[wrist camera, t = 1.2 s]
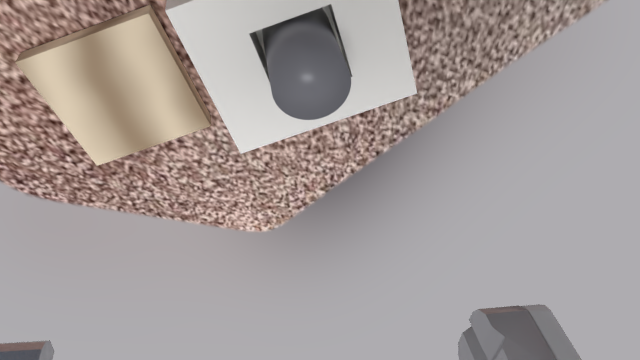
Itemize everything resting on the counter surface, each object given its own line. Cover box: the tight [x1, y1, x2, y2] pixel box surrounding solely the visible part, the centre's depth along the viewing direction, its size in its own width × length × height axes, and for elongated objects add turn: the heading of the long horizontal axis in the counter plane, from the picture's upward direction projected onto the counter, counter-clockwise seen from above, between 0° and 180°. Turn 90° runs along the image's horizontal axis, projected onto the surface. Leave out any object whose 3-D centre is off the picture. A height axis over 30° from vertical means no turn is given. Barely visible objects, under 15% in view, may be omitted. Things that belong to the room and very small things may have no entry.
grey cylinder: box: [262, 7, 351, 120], centre depth 36 cm, size 5×5×8 cm
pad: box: [15, 5, 211, 166], centre depth 40 cm, size 10×10×2 cm
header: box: [165, 0, 417, 153], centre depth 37 cm, size 14×12×5 cm
